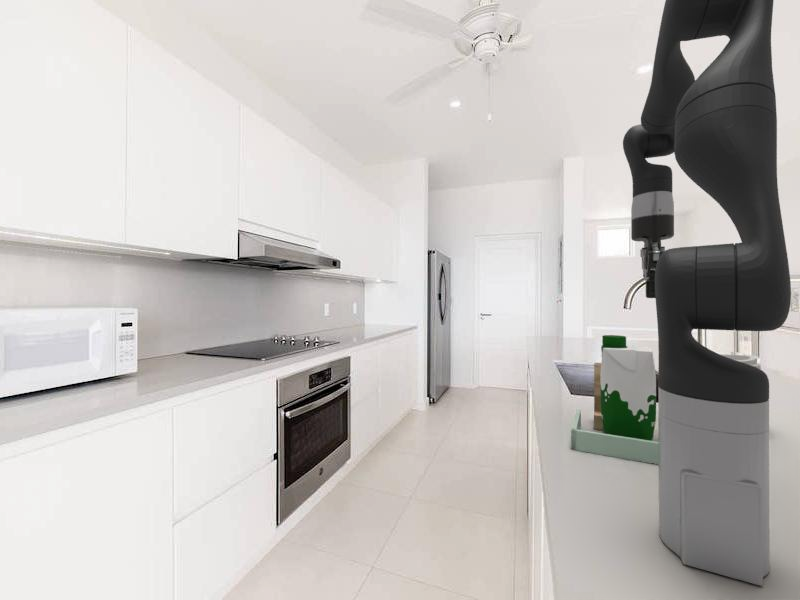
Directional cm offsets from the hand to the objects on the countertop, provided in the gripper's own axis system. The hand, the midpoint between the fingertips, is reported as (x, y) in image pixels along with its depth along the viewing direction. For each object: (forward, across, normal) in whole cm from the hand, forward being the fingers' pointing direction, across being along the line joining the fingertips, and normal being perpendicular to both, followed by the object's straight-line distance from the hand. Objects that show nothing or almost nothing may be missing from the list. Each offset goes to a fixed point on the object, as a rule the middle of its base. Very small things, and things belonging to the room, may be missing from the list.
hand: (652, 297), depth 78 cm
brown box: (+28, -4, +6) cm, 28 cm away
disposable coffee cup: (+27, +7, -14) cm, 31 cm away
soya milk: (+28, -11, +5) cm, 30 cm away
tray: (+28, -13, +5) cm, 31 cm away
